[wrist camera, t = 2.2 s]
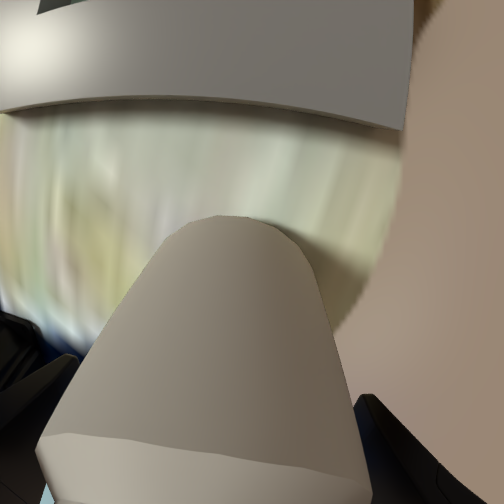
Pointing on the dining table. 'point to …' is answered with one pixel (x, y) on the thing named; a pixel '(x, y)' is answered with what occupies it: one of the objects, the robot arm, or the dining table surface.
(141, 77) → the pocket frame
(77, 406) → the can
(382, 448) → the robot arm
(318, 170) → the dining table surface
